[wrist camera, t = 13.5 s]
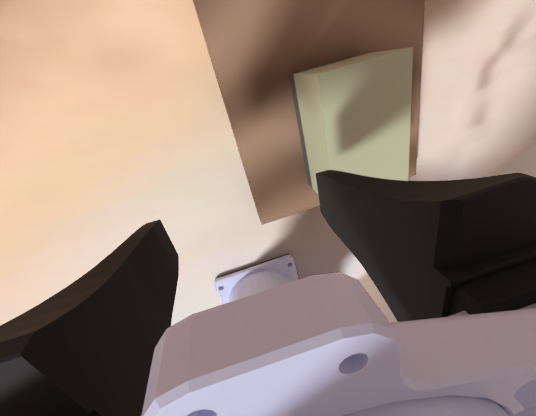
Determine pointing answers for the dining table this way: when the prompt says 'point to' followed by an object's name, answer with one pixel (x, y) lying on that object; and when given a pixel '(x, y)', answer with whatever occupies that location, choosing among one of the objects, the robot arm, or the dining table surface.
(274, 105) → the walnut board
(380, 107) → the block
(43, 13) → the dining table surface
